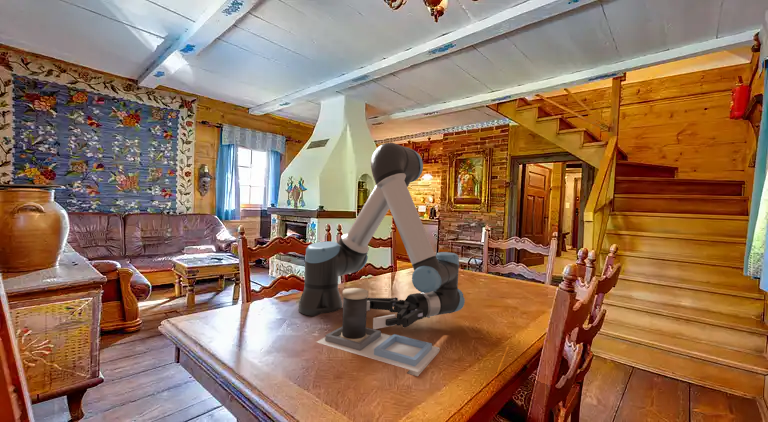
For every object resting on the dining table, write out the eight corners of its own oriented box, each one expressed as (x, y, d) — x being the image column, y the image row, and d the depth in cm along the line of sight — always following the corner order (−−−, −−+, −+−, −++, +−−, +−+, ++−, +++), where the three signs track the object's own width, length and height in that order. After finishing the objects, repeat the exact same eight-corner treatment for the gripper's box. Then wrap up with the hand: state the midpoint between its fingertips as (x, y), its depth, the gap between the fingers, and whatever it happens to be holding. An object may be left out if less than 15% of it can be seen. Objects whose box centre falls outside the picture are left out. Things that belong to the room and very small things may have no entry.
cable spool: (335, 339, 91) (337, 292, 91) (350, 331, 97) (351, 286, 97) (357, 346, 88) (359, 296, 88) (371, 337, 94) (373, 290, 94)
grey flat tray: (315, 345, 89) (316, 336, 89) (347, 328, 103) (348, 319, 103) (417, 376, 76) (418, 365, 76) (439, 351, 89) (439, 342, 89)
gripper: (449, 331, 94) (385, 346, 82) (398, 305, 115) (341, 315, 103) (450, 304, 94) (386, 315, 82) (398, 283, 115) (341, 290, 103)
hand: (360, 315), depth 93 cm, fingers open, 13 cm apart
